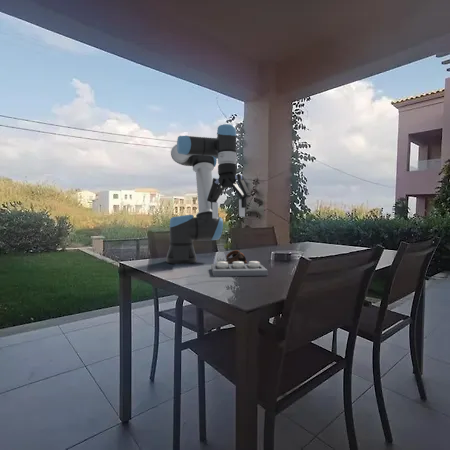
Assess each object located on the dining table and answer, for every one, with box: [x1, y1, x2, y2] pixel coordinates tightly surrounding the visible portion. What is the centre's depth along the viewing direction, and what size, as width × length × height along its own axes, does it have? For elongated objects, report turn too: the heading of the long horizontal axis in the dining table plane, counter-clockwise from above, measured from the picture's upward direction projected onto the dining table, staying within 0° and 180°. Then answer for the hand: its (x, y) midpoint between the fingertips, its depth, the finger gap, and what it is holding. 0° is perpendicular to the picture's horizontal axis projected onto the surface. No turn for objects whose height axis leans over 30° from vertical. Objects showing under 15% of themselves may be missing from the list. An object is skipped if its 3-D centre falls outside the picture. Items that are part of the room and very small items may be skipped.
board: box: [210, 263, 269, 277], centre depth 123 cm, size 14×21×3 cm, turn 96°
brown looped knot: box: [225, 249, 248, 264], centre depth 145 cm, size 12×10×8 cm
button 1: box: [216, 260, 228, 269], centre depth 122 cm, size 4×4×2 cm
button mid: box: [232, 261, 245, 269], centre depth 123 cm, size 4×4×2 cm
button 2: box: [248, 260, 261, 269], centre depth 124 cm, size 4×4×2 cm
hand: (228, 217), depth 120 cm, fingers open, 13 cm apart
